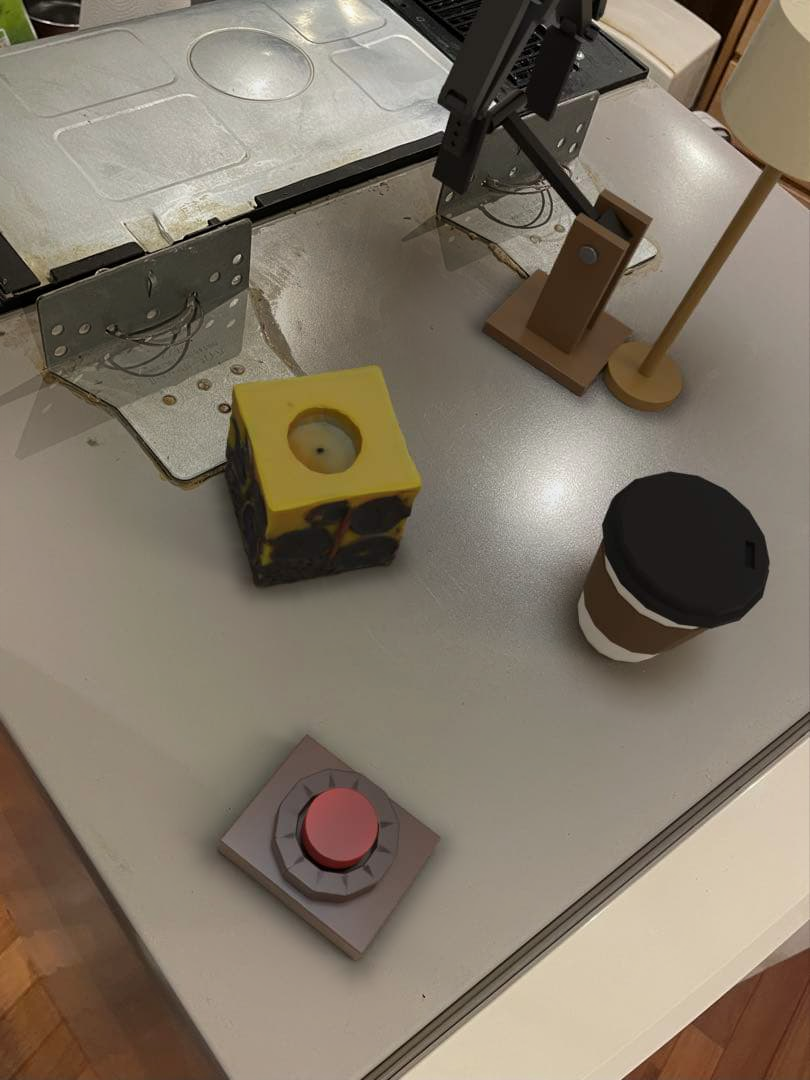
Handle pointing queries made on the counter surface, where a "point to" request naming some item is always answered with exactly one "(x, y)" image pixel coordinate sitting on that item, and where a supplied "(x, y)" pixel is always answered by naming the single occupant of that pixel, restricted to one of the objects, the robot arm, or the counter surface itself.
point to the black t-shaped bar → (548, 162)
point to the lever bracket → (573, 301)
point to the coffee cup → (670, 566)
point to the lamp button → (339, 828)
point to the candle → (318, 474)
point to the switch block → (302, 883)
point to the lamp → (786, 146)
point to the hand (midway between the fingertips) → (494, 146)
